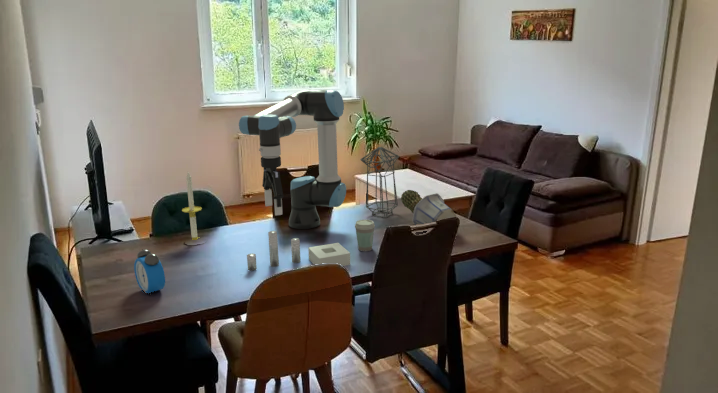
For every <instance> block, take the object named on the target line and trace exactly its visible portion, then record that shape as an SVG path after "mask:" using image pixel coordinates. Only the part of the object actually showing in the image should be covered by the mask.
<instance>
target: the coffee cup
mask: <svg viewBox="0 0 718 393" xmlns="http://www.w3.org/2000/svg"><path fill="white" fill-rule="evenodd" d="M354 228H355V234H356V241H357V248H358V250H359V251H361V252H369V251H371V250H372V249H373V243H374V235H375V234H374V233H375V228H376V225H375V222H374V221H373V220H371V219H360V220H357V221H355V224H354Z"/></svg>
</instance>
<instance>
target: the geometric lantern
mask: <svg viewBox="0 0 718 393" xmlns="http://www.w3.org/2000/svg"><path fill="white" fill-rule="evenodd" d="M379 153H380V154H379ZM390 154H391V155H390ZM377 157H379V158H380V159H381V160H382V161H376V159H377ZM393 157H394V158H393ZM400 157H401V156H400V155H398V154H397V153H395V152H392V151H391V150H388V149H386V148H385V147H383V146H377V147H376V148H375V149H373V150H372V151H371V152H369V153H368V154H366V155H364V156H363V157H361V158H360V161H361V162H362V164H364V165H366V172H367V173H366V194H365V196H366V198H365V208H366V209H368V210H369V211H370V212H371V215H372V216H374V217H379V218H384V219H386V218H389V217H390V216H392V215H394V213H393V212H394V211H393V210H394V209H395V208H397V207H398V195H397V185H396V178H395V163H396V162H397V161H398V159H399V158H400ZM384 158H385V159H384ZM373 160H374V161H373ZM392 162H393V163H392ZM376 163H378V164H376ZM375 164H376V165H375ZM381 164H382V165H381ZM385 164H387V166H388V168H387V170H384V169H383V167H384V166H385ZM380 165H381V167H380V168H379V169H378V168H377V167H378V166H380ZM372 168H374V169H375V170H373V171H370V170H371V169H372ZM390 169H391V170H390ZM381 172H384V175H382V174H381ZM387 172H389V174H387ZM371 173H375V174H371ZM378 174H379V175H378ZM386 174H387V175H386ZM369 175H370V176H372V177H375V201H374V202H373V203H370V204H369ZM390 175H392V178H393V190H394V191H393V192H394V202H389V200H388V190H387V179H386V177H388V176H390ZM378 177H379V196H380V197H379V198H380V200H379V201H377V200H378V199H377V198H378V196H377V192H378V191H377V189H378V188H377V187H378ZM383 178H384V189H385V197H386V201H384V196H383V194H384V192H383ZM378 203H380V204H379V205H378ZM375 204H376V206H377V208H374V207H370V206H373V205H375ZM384 204H386V207H384ZM389 204H391V205H393V206H391V207H389ZM375 214H383V216H382V215H375ZM388 214H389V215H388Z"/></svg>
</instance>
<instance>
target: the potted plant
mask: <svg viewBox="0 0 718 393" xmlns="http://www.w3.org/2000/svg"><path fill="white" fill-rule="evenodd" d="M400 200H401V203H402V204H403V207H406V208H407V209H408V210H410V212H411V213H412V223H413V224H414V226H416V224H424V223H431V222H435V221H437V220H440V219H445V218H450V217H456V218H457V215H456V213H455V212H454V210H453V209H452V208H451V207H449V206H448V205H447V204H445V200H444V198H442V196H441V195H440V194H439V193H432V194H428V195H425V196H424V197H421V195H420V194H419V192H418V191H415V190H412V189H407V190H404V191H403V192H402V194H401V197H400Z"/></svg>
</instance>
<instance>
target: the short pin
mask: <svg viewBox="0 0 718 393" xmlns="http://www.w3.org/2000/svg"><path fill="white" fill-rule="evenodd" d="M246 261H247V262H246V263H247V271H248V270H249V272H254V270H255V271H257V270H256V269H258V266H257V255H256V253H248V254H246Z"/></svg>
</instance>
